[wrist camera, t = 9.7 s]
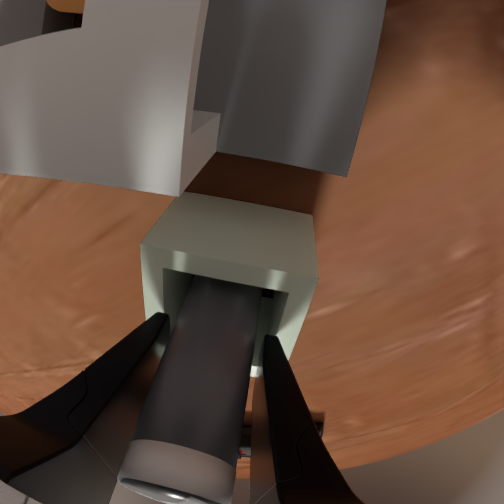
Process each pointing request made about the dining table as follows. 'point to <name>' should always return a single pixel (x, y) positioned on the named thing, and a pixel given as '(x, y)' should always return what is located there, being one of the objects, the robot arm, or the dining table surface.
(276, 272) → the pen stand
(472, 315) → the dining table surface
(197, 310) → the flashlight
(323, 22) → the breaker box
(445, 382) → the dining table surface
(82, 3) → the button
